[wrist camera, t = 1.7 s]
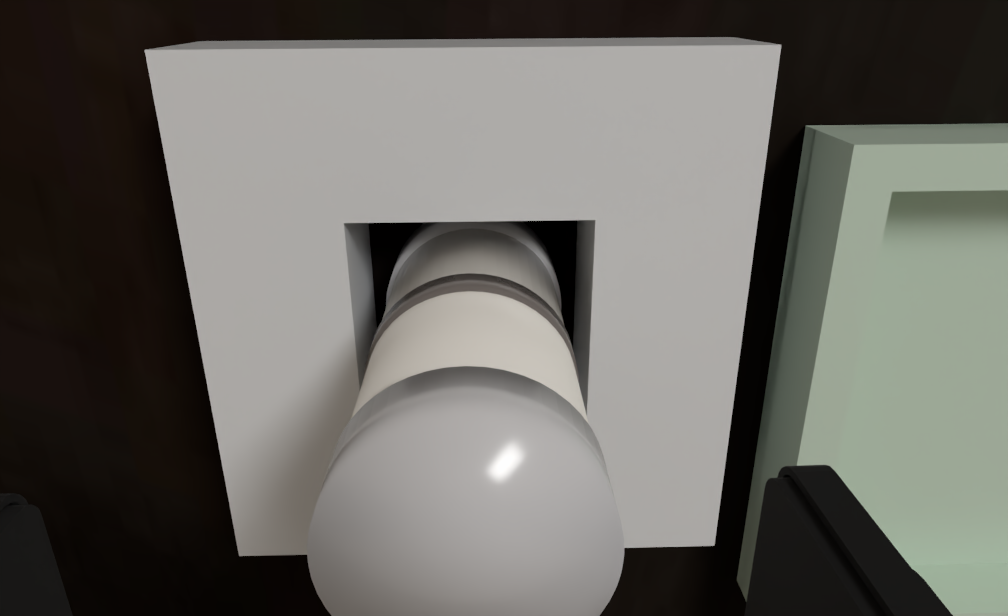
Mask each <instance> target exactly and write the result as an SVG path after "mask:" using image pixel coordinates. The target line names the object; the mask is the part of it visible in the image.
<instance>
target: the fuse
mask: <svg viewBox="0 0 1008 616" xmlns="http://www.w3.org/2000/svg"><path fill="white" fill-rule="evenodd" d="M307 558H308V566H309V570H310V575H311V579H312V581H313V584H314V586H315V589H316V591H317V594H318V596H319V597H320V599H321V601H322V602H323V604H324V606H325V608H326V609H327V610H328V612H329V613H330V614H331V615H332V616H599V615H600V614H601V613H602V611H603V610H604V608H605V607H606V605H607V604H608V603H609V601H610V599H611V597H612V595H613V593H614V591H615V589H616V587H617V584H618V581H619V578H620V575H621V572H622V566H623V559H624V536H623V531H622V525H621V520H620V517H619V513H618V509H617V505H616V501H615V498H614V494H613V490H612V486H611V482H610V479H609V475H608V471H607V467H606V463H605V459H604V456H603V453H602V450H601V447H600V444H599V442H598V440H597V438H596V436H595V434H594V432H593V430H592V428H591V427H590V425H589V423H588V419H587V415H586V411H585V407H584V403H583V399H582V395H581V391H580V387H579V375H578V369H577V364H576V360H575V356H574V352H573V348H572V344H571V341H570V338H569V335H568V332H567V330H566V328H565V326H564V322H563V318H562V314H561V294H560V289H559V284H558V281H557V277H556V273H555V269H554V265H553V262H552V259H551V256H550V254H549V252H548V250H547V248H546V246H545V245H544V243H543V242H542V240H541V239H540V238H539V237H538V235H537V234H536V233H535V232H534V231H533V230H532V229H531V228H530V227H528V226H527V225H526V224H525V223H523V222H522V221H484V222H425V223H423V224H422V225H421V226H420V227H419V228H417V229H416V230H415V231H414V232H413V233H412V235H411V236H410V237H409V238H408V239H407V241H406V242H405V244H404V246H403V247H402V249H401V251H400V253H399V255H398V258H397V261H396V264H395V267H394V270H393V273H392V276H391V279H390V282H389V286H388V290H387V297H386V309H385V312H384V316H383V319H382V321H381V323H380V325H379V327H378V329H377V331H376V333H375V336H374V339H373V342H372V345H371V348H370V351H369V354H368V358H367V361H366V365H365V371H364V379H363V383H362V386H361V389H360V392H359V395H358V399H357V402H356V405H355V408H354V411H353V415H352V418H351V420H350V421H349V423H348V424H347V426H346V427H345V429H344V430H343V432H342V433H341V435H340V438H339V440H338V442H337V444H336V446H335V449H334V452H333V455H332V458H331V461H330V464H329V467H328V470H327V473H326V476H325V479H324V482H323V485H322V488H321V491H320V494H319V498H318V501H317V504H316V507H315V510H314V513H313V516H312V520H311V523H310V527H309V531H308V540H307Z"/></svg>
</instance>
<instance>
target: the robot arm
mask: <svg viewBox="0 0 1008 616" xmlns="http://www.w3.org/2000/svg"><path fill="white" fill-rule="evenodd" d="M0 616H73V615H72V612H71V608H70V605H69V602H68V599H67V595H66V592H65V589H64V586H63V583H62V579H61V576H60V573H59V570H58V566H57V563H56V560H55V557H54V554H53V550H52V547H51V544H50V541H49V537H48V534H47V531H46V528H45V524H44V521H43V518H42V515H41V513H40V510H39V509H38V508H37V507H36V506H35V505H28V503H27V501H26V499H25V498H24V497H23V496H22V495H19V494H15V493H12V494H0ZM744 616H953V615H952V614H951V613H950V611H949V610H948V609H947V608H946V606H945V605H944V604H943V603H942V601H941V600H940V599H939V597H938V596H937V595H936V594H935V592H934V591H933V590H932V589H931V587H930V586H929V585H928V584H927V582H926V581H925V580H924V579H923V578H922V577H921V576H920V575H919V574H918V573H917V572H916V571H915V570H913V569H912V568H911V567H910V566H909V564H908V563H907V562H906V561H905V559H904V558H903V557H902V555H901V554H900V553H899V552H898V550H897V549H896V548H895V547H894V545H893V544H892V543H891V541H890V540H889V539H888V538H887V536H886V535H885V534H884V533H883V531H882V530H881V529H880V528H879V526H878V525H877V524H876V522H875V521H874V520H873V519H872V517H871V516H870V515H869V514H868V512H867V511H866V510H865V508H864V507H863V506H862V505H861V503H860V502H859V501H858V500H857V498H856V497H855V496H854V494H853V493H852V492H851V491H850V489H849V488H848V487H847V486H846V484H845V483H844V482H843V480H842V479H841V478H840V477H839V475H838V474H837V473H836V472H835V470H833V469H832V468H831V467H830V466H828V465H803V466H785V467H783V468H781V470H780V471H779V473H778V477H777V478H770V479H768V480H767V482H766V485H765V489H764V496H763V502H762V508H761V514H760V521H759V527H758V533H757V539H756V546H755V552H754V558H753V564H752V571H751V577H750V583H749V589H748V596H747V602H746V608H745V614H744Z"/></svg>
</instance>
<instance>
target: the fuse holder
mask: <svg viewBox="0 0 1008 616" xmlns="http://www.w3.org/2000/svg"><path fill="white" fill-rule="evenodd" d="M780 51H781V45H779V44H772V43H766V42H760V41H753V40H747V39H741V38H734V37H689V38H559V39H428V40H298V41H200V42H194V43H187V44H180V45H174V46H167V47H161V48H154V49H148V50H145V54H146V60H147V65H148V70H149V76H150V81H151V86H152V92H153V97H154V103H155V108H156V113H157V119H158V124H159V129H160V135H161V140H162V145H163V151H164V156H165V161H166V167H167V172H168V178H169V183H170V188H171V194H172V199H173V204H174V210H175V215H176V220H177V226H178V231H179V237H180V242H181V247H182V253H183V258H184V263H185V269H186V274H187V279H188V285H189V290H190V296H191V301H192V306H193V312H194V317H195V322H196V328H197V333H198V338H199V344H200V349H201V355H202V360H203V365H204V371H205V376H206V381H207V387H208V392H209V397H210V403H211V408H212V413H213V419H214V424H215V430H216V435H217V440H218V446H219V451H220V456H221V462H222V467H223V472H224V478H225V483H226V489H227V494H228V499H229V505H230V510H231V515H232V521H233V526H234V531H235V537H236V542H237V548H238V553H239V556H263V555H307V540H308V531H309V527H310V523H311V520H312V516H313V513H314V510H315V507H316V504H317V501H318V498H319V494H320V491H321V488H322V485H323V482H324V479H325V476H326V473H327V470H328V467H329V464H330V461H331V458H332V455H333V452H334V449H335V446H336V444H337V442H338V440H339V438H340V435H341V433H342V432H343V430H344V429H345V427H346V426H347V424H348V423H349V421H350V420H351V418H352V415H353V411H354V408H355V405H356V402H357V399H358V395H359V392H360V389H361V386H362V383H363V379H364V371H365V365H366V361H367V358H368V354H369V351H370V348H371V345H372V342H373V339H374V336H375V333H376V331H377V322H376V310H375V298H374V285H373V273H372V261H371V248H370V236H369V224H368V223H404V222H484V221H563V220H577V244H576V273H575V303H574V332H573V352H574V356H575V360H576V364H577V369H578V375H579V387H580V391H581V395H582V399H583V403H584V407H585V411H586V415H587V419H588V423H589V425H590V427H591V428H592V430H593V432H594V434H595V436H596V438H597V440H598V442H599V444H600V447H601V450H602V453H603V456H604V459H605V463H606V467H607V471H608V475H609V479H610V482H611V486H612V490H613V494H614V498H615V501H616V505H617V509H618V513H619V517H620V520H621V525H622V531H623V536H624V548H637V547H683V546H714V545H715V538H716V530H717V523H718V516H719V508H720V501H721V493H722V486H723V478H724V471H725V463H726V456H727V448H728V441H729V433H730V426H731V418H732V411H733V403H734V396H735V388H736V381H737V373H738V366H739V358H740V351H741V343H742V336H743V328H744V321H745V313H746V306H747V298H748V291H749V283H750V276H751V268H752V261H753V253H754V246H755V238H756V231H757V223H758V216H759V208H760V201H761V193H762V186H763V178H764V171H765V163H766V156H767V148H768V141H769V133H770V126H771V118H772V111H773V103H774V96H775V88H776V81H777V73H778V66H779V59H780Z"/></svg>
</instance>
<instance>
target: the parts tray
mask: <svg viewBox="0 0 1008 616" xmlns="http://www.w3.org/2000/svg"><path fill="white" fill-rule="evenodd" d="M803 465H828V466H830V467H831V468H832V469H833V470H835V472H836V473H837V474H838V475H839V477H840V478H841V479H842V480H843V482H844V483H845V484H846V486H847V487H848V488H849V489H850V491H851V492H852V493H853V494H854V496H855V497H856V498H857V500H858V501H859V502H860V503H861V505H862V506H863V507H864V508H865V510H866V511H867V512H868V514H869V515H870V516H871V517H872V519H873V520H874V521H875V522H876V524H877V525H878V526H879V528H880V529H881V530H882V531H883V533H884V534H885V535H886V536H887V538H888V539H889V540H890V541H891V543H892V544H893V545H894V547H895V548H896V549H897V550H898V552H899V553H900V554H901V555H902V557H903V558H904V559H905V561H906V562H907V563H908V564H909V566H910V567H911V568H912V569H913V570H915V571H916V572H917V573H918V574H919V575H920V576H921V577H922V578H923V579H924V580H925V581H926V582H927V584H928V585H929V586H930V587H931V589H932V590H933V591H934V592H935V594H936V595H937V596H938V597H939V599H940V600H941V601H942V603H943V604H944V605H945V606H946V608H947V609H948V610H949V611H950V613H951V614H952V615H953V616H1008V124H914V125H815V126H806V127H805V134H804V140H803V147H802V153H801V160H800V167H799V173H798V180H797V186H796V193H795V199H794V206H793V213H792V219H791V226H790V232H789V239H788V246H787V252H786V259H785V265H784V272H783V278H782V285H781V292H780V298H779V305H778V311H777V318H776V325H775V331H774V338H773V344H772V351H771V357H770V364H769V371H768V377H767V384H766V390H765V397H764V404H763V410H762V417H761V423H760V430H759V436H758V443H757V450H756V456H755V463H754V469H753V476H752V483H751V489H750V496H749V502H748V509H747V516H746V522H745V529H744V535H743V542H742V548H741V555H740V562H739V568H738V575H737V582H738V584H739V586H740V589H741V591H742V593H743V596H744V598H745V600H746V602H747V596H748V589H749V583H750V577H751V571H752V564H753V558H754V552H755V546H756V539H757V533H758V527H759V521H760V514H761V508H762V502H763V496H764V489H765V485H766V482H767V480H768V479H770V478H777V477H778V473H779V471H780V470H781V468H783V467H785V466H803Z"/></svg>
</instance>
